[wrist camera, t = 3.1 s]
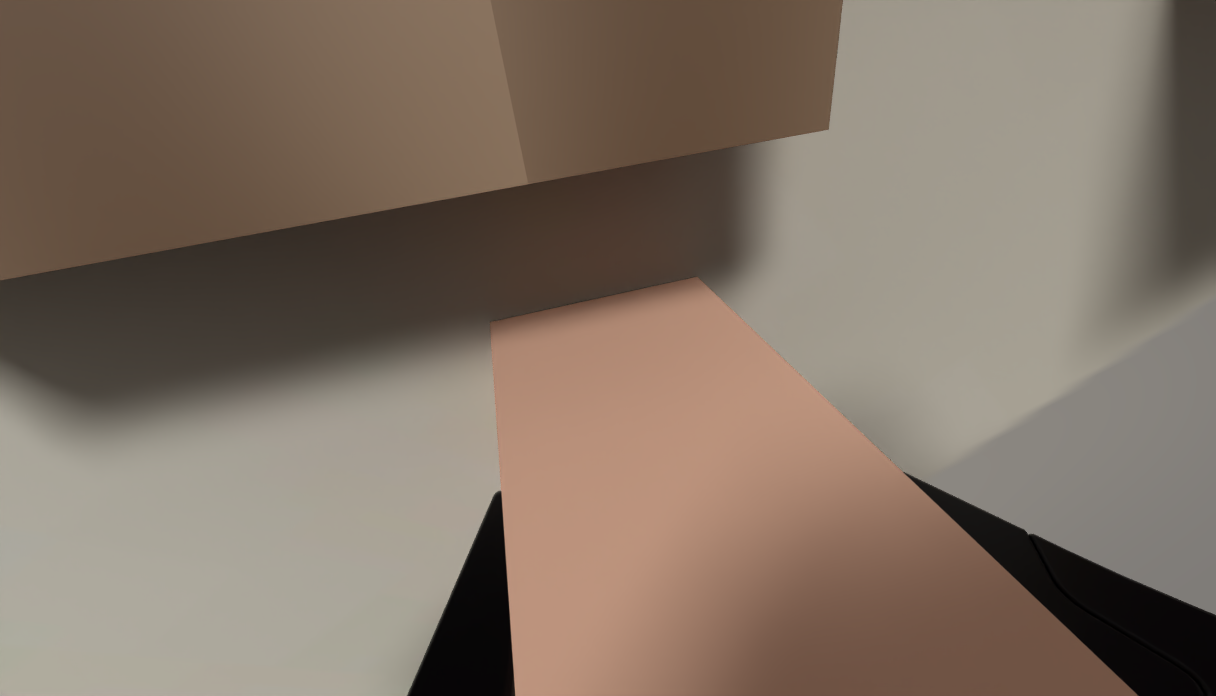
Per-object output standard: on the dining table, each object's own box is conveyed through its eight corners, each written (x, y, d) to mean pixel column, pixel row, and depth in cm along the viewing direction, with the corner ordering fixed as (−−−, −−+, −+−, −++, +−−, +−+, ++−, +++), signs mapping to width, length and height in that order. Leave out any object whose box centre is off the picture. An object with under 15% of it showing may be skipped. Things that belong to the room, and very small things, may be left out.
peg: (697, 276, 9) (1653, 1188, 2) (701, 432, 11) (1144, 1146, 4) (489, 322, 9) (600, 1923, 1) (534, 476, 11) (674, 1408, 3)
